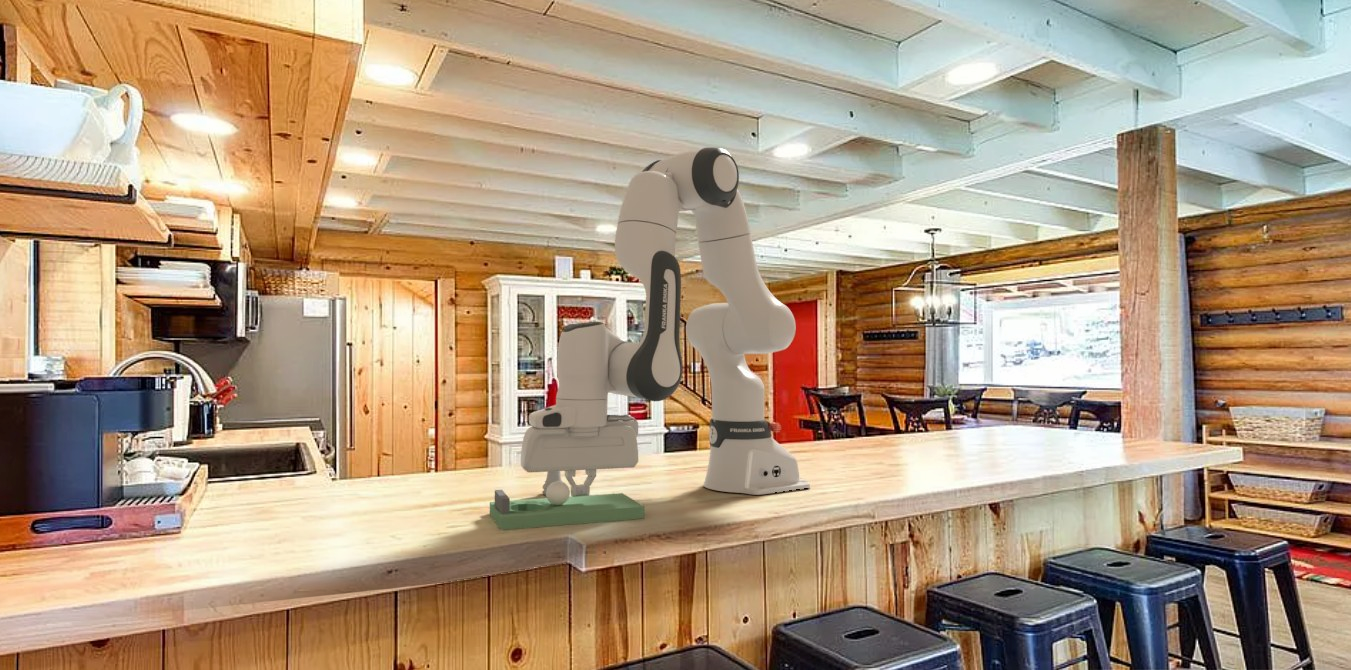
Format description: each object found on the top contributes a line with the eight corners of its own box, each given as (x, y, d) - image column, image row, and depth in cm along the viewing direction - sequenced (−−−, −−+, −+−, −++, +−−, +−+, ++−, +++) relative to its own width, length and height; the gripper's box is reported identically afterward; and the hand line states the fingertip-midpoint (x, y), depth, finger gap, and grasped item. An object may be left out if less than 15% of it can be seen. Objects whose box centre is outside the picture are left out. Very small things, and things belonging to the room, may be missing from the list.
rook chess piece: (560, 497, 138) (561, 455, 138) (538, 495, 138) (539, 454, 139) (568, 492, 142) (568, 452, 142) (546, 491, 143) (547, 451, 143)
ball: (539, 489, 122) (551, 507, 123) (544, 493, 118) (557, 512, 119) (558, 474, 123) (570, 493, 124) (564, 478, 120) (576, 497, 121)
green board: (622, 504, 132) (622, 480, 132) (644, 518, 121) (644, 492, 121) (489, 513, 123) (490, 488, 123) (500, 530, 112) (500, 501, 112)
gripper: (632, 412, 130) (631, 489, 129) (519, 414, 122) (517, 495, 122) (644, 415, 124) (643, 495, 124) (526, 418, 116) (524, 503, 116)
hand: (580, 495), depth 123 cm, fingers closed
